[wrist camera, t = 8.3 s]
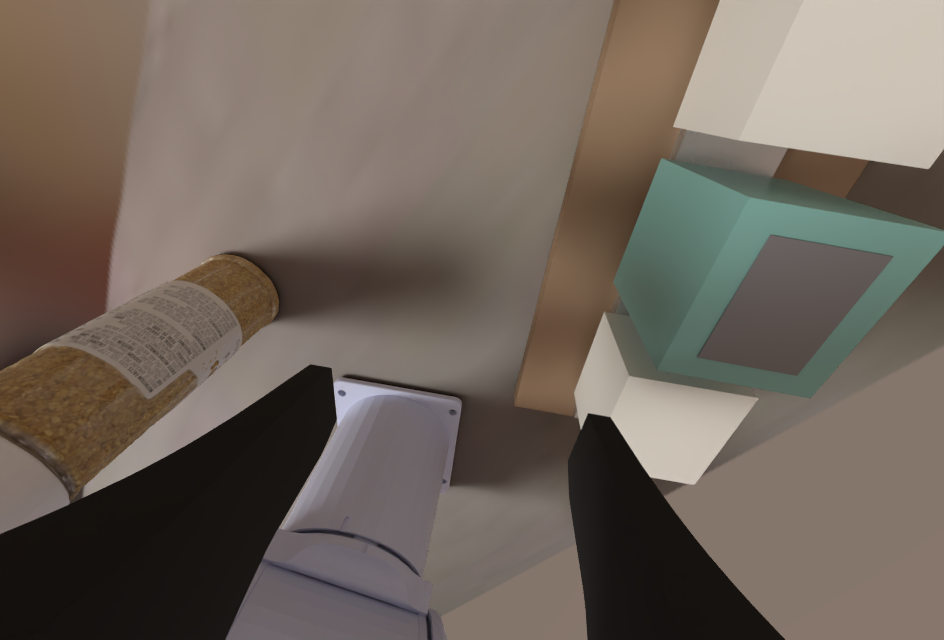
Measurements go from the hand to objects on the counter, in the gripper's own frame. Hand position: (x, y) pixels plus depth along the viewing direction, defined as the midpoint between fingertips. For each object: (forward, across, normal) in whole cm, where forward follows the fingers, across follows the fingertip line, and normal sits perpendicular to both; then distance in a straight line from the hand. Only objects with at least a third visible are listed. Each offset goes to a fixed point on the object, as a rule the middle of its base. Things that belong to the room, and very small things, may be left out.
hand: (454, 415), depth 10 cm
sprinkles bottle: (+10, +13, +3) cm, 17 cm away
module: (+8, -8, -4) cm, 12 cm away
